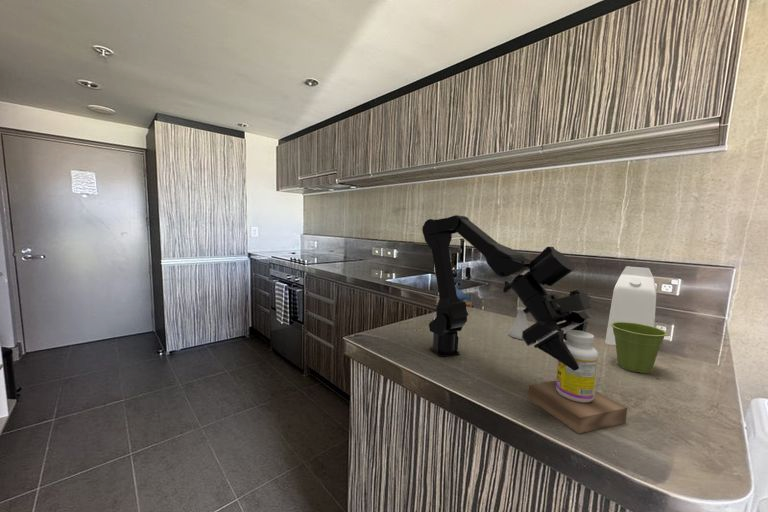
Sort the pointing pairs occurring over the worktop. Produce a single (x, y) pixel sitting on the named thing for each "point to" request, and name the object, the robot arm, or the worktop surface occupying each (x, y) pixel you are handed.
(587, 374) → the supplement bottle
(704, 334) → the worktop surface
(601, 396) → the walnut base block
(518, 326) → the flask
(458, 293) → the model
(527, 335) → the robot arm
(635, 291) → the milk
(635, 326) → the plant pot
